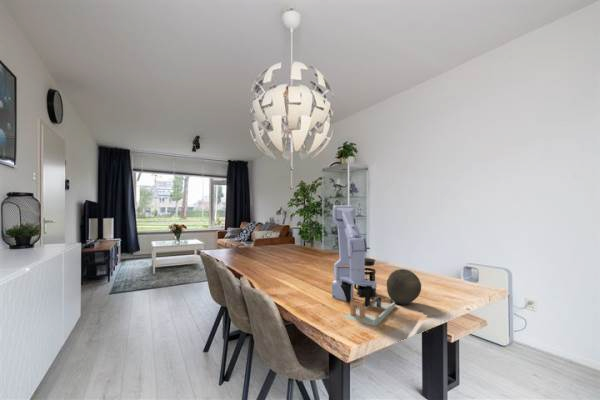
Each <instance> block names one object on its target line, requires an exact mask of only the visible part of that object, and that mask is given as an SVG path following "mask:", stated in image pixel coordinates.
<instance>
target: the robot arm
mask: <svg viewBox="0 0 600 400" xmlns="http://www.w3.org/2000/svg"><path fill="white" fill-rule="evenodd" d="M331 210H332V212H331V213H332V215H331V216H332V223H333V224H335V226H336V227H337V240H338V258H339V259H338V260H336V261H335V262H334V264H333V278H334V280H333V281H332V282H331V284H332V285H331V298H333V299H336V300H339V301H345V302H346V303H347V304H349V303H350V301H351V300H354V285H356V286H358V285H360V286H365V287H366V288H364V294H365V297H364V302H365V307H368V306H369V302H370V301H371V298H372V297H371V295H372V293H373V291H374V289H375V288H376V289H377V282H376V281H375V282H372V281H369V280H365V279H366V275H365V272H366V270H365V268H366V266H365V258H366V253H367V252H366V249H367V247H368V245H367V240H366V237H364V236H363V235H362V233H361V232H360V229H359V226H358V225H357V224H355V221H354V218H355V217H356V208H355V206H354V205H353V204H347V205H343V204H342V205H340V204H339V205H337V204H334V205H333V206H332V209H331ZM367 250H368V249H367ZM368 308H369V307H368Z"/></svg>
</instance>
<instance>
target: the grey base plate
mask: <svg viewBox="0 0 600 400" xmlns="http://www.w3.org/2000/svg"><path fill="white" fill-rule="evenodd" d="M369 307H373V308H377V309H379V308H378V307H377V302H376V303H375V304H374V305H372V306H368V307H365V311H366V310H367V309H369ZM395 308H396V303H395V302H394V301H392V303H390V305H389V304H388V305H387V304H383V303H381V308H380V309H381V310H383V311H382V312H381V313H380V314H379V315H378V316H377V315H373V314H372V315H371V314H368V313H365V317H364V318H360V306H356V314H355V315H354V316H351V315H350V312H348V313H347V314H345V315H344V316H343V318H344V319H348V320H351V321H356V322H359V323H363V324H367V325H372V326H374V327H375V326H376V327H377V326H378V325H379V324H380V323H381V322H382V321H383V320H384V319H385V318H386V317H387V316H388V315H389V314H390V313H391V312H392V311H393V310H394V309H395Z"/></svg>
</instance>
